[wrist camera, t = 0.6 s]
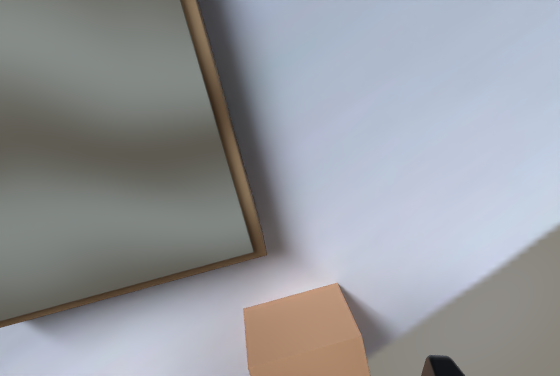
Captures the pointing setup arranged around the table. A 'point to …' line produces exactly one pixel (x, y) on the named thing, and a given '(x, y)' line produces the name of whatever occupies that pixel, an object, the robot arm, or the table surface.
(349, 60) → the table surface
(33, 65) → the wooden framed mirror
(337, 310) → the terracotta block
